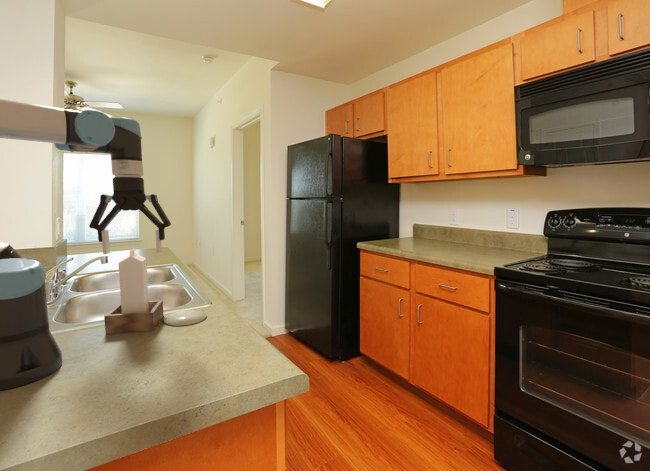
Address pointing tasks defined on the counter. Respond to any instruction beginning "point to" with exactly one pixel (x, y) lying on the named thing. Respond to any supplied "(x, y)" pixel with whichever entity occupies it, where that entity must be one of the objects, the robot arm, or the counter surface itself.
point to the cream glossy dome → (184, 318)
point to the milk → (133, 284)
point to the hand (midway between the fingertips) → (133, 252)
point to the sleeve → (133, 319)
